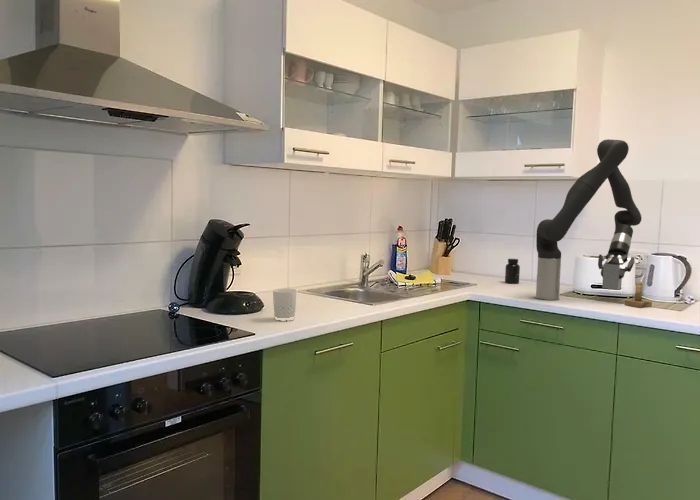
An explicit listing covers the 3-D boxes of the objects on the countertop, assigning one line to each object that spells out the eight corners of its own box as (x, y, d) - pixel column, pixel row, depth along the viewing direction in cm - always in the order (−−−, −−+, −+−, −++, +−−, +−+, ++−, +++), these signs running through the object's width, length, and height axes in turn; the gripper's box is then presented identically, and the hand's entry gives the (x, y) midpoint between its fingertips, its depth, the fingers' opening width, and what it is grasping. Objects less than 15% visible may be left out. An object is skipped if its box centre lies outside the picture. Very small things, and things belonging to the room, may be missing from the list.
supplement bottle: (519, 284, 287) (520, 259, 285) (505, 283, 288) (506, 259, 287) (518, 282, 293) (519, 258, 292) (504, 281, 295) (505, 257, 294)
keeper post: (640, 308, 229) (642, 283, 228) (624, 305, 235) (625, 280, 234) (651, 306, 233) (653, 282, 232) (635, 303, 239) (636, 279, 238)
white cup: (280, 323, 194) (280, 293, 193) (268, 318, 201) (268, 289, 200) (300, 320, 199) (300, 291, 198) (288, 316, 205) (289, 287, 204)
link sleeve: (602, 288, 240) (603, 263, 239) (605, 286, 245) (607, 262, 244) (617, 289, 237) (619, 265, 236) (621, 288, 242) (622, 263, 241)
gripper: (600, 239, 249) (591, 269, 241) (637, 241, 241) (629, 272, 232) (602, 250, 254) (594, 280, 246) (639, 253, 246) (631, 284, 237)
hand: (611, 276), depth 239 cm, fingers closed on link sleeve, 6 cm apart
